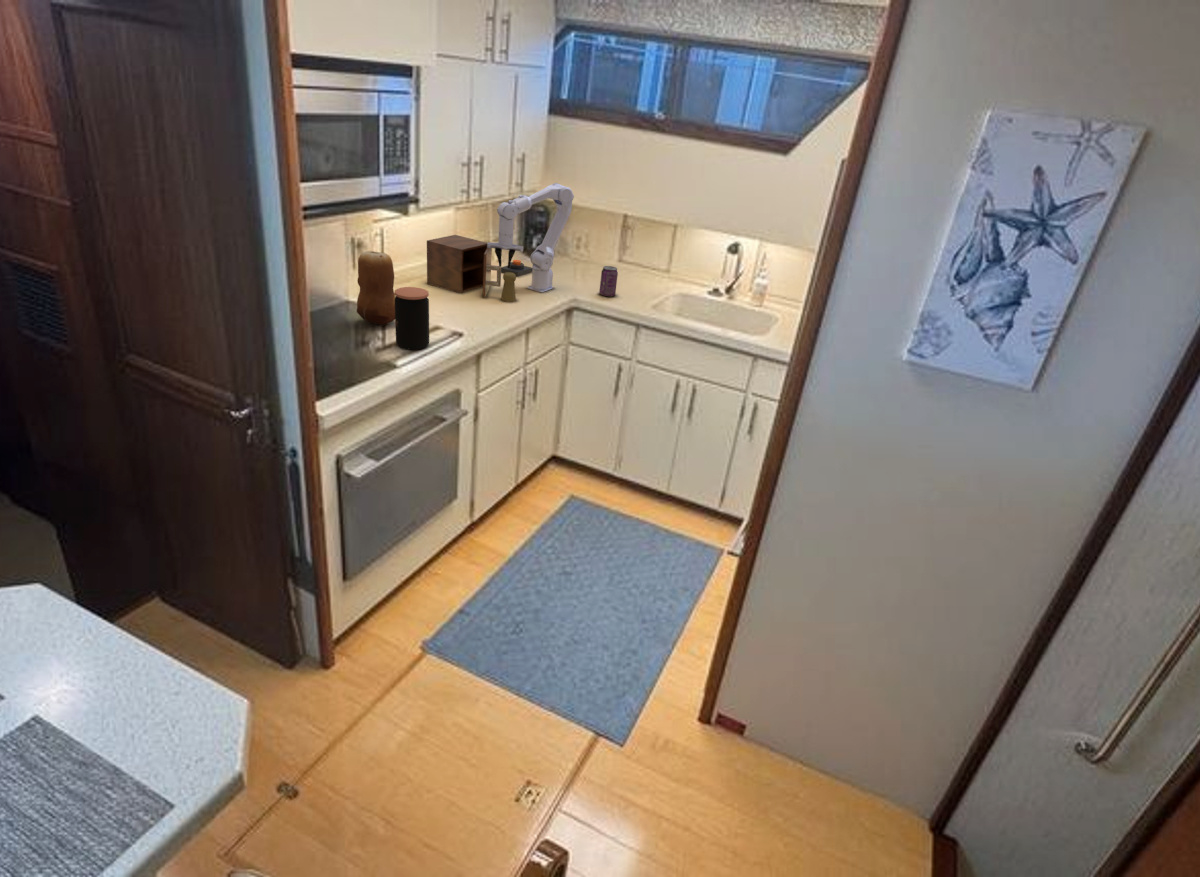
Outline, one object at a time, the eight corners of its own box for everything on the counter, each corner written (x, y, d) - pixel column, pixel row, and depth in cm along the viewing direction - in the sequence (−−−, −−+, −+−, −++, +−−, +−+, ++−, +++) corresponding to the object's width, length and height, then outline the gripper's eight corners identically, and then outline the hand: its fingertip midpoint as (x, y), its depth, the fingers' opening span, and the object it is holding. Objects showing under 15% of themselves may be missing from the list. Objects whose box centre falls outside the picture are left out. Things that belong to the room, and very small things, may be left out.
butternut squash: (391, 315, 250) (389, 246, 239) (404, 328, 241) (402, 256, 229) (352, 319, 243) (348, 247, 231) (364, 331, 233) (360, 258, 222)
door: (504, 286, 297) (505, 245, 288) (499, 299, 281) (501, 255, 272) (488, 285, 296) (489, 243, 288) (482, 297, 280) (483, 254, 272)
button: (515, 263, 320) (515, 259, 319) (522, 264, 319) (522, 261, 318) (511, 264, 317) (511, 260, 316) (517, 266, 316) (517, 262, 315)
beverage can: (605, 291, 308) (608, 264, 302) (618, 295, 304) (621, 268, 299) (595, 294, 302) (598, 267, 297) (609, 298, 299) (612, 271, 293)
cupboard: (487, 285, 296) (489, 243, 288) (461, 293, 282) (461, 249, 274) (454, 276, 303) (455, 234, 295) (427, 283, 289) (426, 240, 281)
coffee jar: (407, 337, 234) (405, 284, 225) (435, 343, 231) (435, 290, 223) (389, 346, 224) (387, 292, 216) (418, 353, 222) (417, 299, 214)
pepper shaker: (513, 302, 278) (514, 275, 273) (498, 300, 279) (500, 273, 274) (517, 298, 284) (519, 272, 278) (503, 296, 284) (504, 270, 279)
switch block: (514, 267, 326) (515, 259, 324) (532, 272, 322) (533, 263, 320) (499, 272, 317) (500, 263, 315) (517, 277, 313) (518, 268, 311)
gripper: (486, 234, 276) (485, 267, 282) (523, 237, 277) (521, 271, 283) (488, 230, 282) (487, 263, 288) (524, 234, 283) (522, 266, 289)
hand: (504, 267), depth 286 cm, fingers open, 3 cm apart
